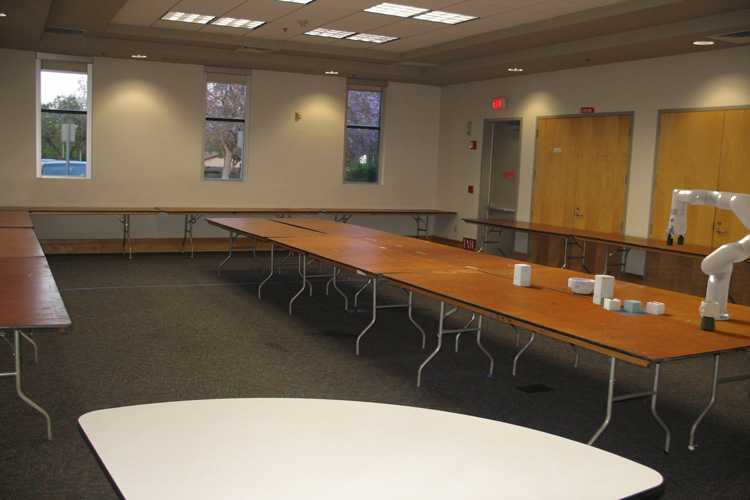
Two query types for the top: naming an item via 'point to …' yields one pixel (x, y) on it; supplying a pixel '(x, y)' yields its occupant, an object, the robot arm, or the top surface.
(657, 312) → the digit block one
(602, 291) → the skincare box
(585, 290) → the paper bowls
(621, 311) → the mat
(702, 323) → the character mug
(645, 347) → the top surface
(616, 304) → the digit block seven
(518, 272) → the supplement box
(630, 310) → the plain block
